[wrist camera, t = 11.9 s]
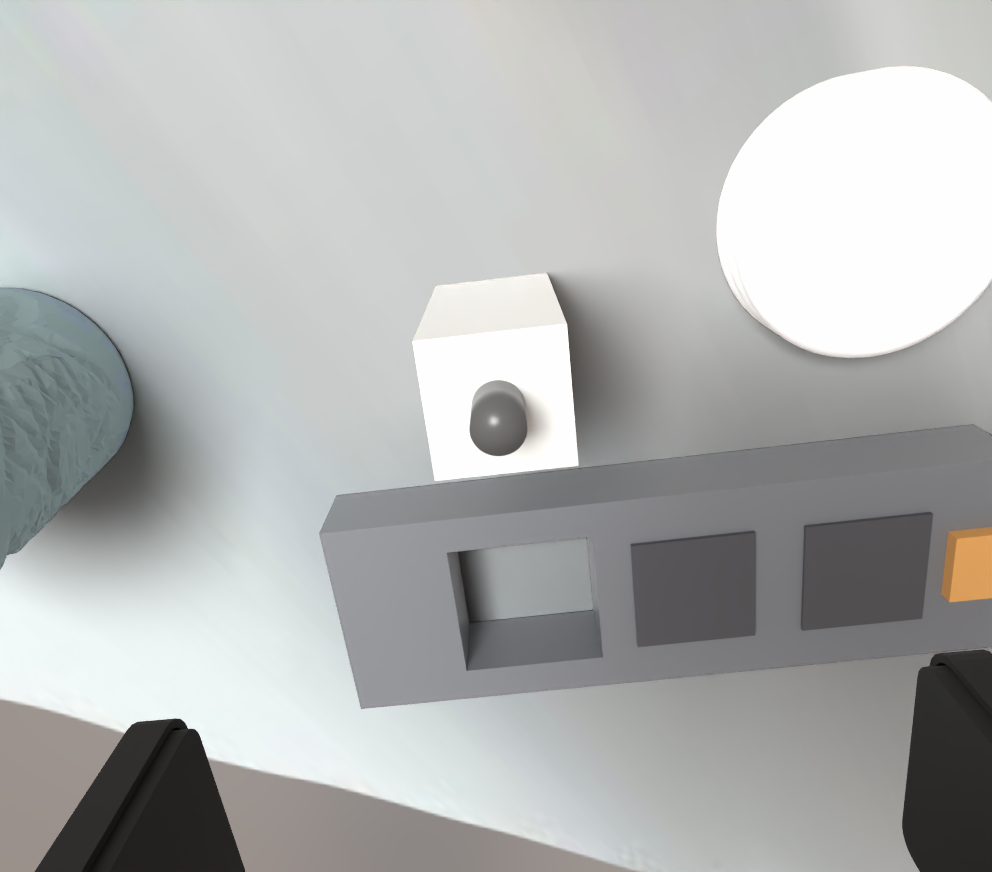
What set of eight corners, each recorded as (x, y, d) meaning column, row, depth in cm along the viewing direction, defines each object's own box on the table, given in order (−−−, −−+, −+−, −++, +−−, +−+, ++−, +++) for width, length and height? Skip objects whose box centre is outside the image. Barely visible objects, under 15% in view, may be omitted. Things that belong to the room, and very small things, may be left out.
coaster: (768, 380, 32) (800, 408, 28) (670, 163, 28) (693, 166, 25) (1001, 263, 30) (1064, 278, 27) (925, 17, 27) (985, -1, 23)
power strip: (973, 424, 32) (1037, 462, 28) (951, 599, 35) (1007, 655, 32) (336, 495, 33) (315, 541, 30) (373, 658, 37) (358, 718, 33)
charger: (546, 272, 30) (573, 341, 20) (556, 379, 31) (585, 494, 21) (435, 285, 30) (404, 360, 20) (451, 391, 32) (429, 510, 21)
